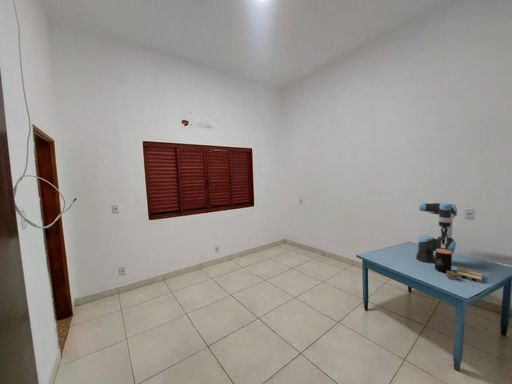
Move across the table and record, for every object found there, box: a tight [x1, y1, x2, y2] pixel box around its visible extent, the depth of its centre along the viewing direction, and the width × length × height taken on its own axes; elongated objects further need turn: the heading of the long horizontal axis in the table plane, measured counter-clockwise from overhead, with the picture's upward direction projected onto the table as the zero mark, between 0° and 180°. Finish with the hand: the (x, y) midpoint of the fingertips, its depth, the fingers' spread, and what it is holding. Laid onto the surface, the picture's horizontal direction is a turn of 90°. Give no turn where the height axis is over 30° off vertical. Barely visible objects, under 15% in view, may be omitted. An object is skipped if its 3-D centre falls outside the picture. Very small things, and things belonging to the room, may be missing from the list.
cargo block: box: [445, 270, 458, 281], centre depth 169 cm, size 5×5×5 cm
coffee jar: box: [434, 249, 453, 274], centre depth 181 cm, size 11×11×18 cm
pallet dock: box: [456, 267, 483, 284], centre depth 170 cm, size 14×14×3 cm
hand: (443, 245), depth 180 cm, fingers open, 13 cm apart
